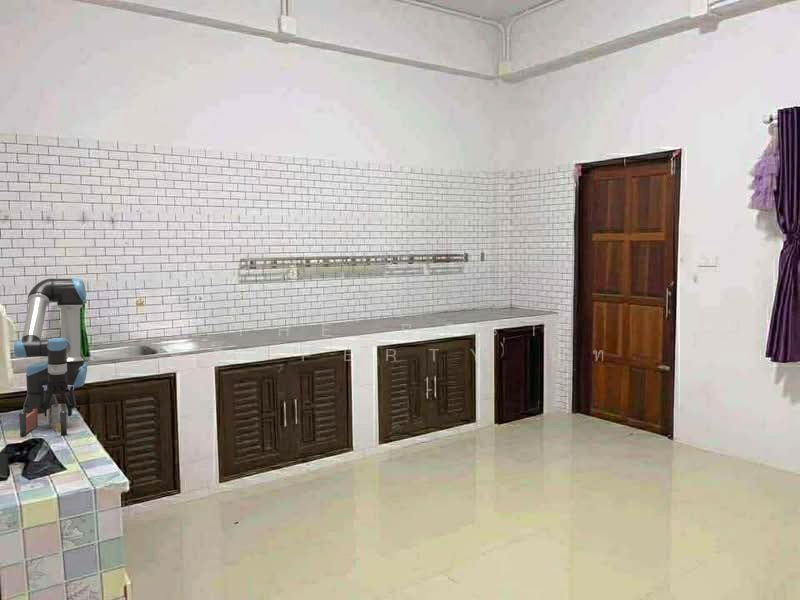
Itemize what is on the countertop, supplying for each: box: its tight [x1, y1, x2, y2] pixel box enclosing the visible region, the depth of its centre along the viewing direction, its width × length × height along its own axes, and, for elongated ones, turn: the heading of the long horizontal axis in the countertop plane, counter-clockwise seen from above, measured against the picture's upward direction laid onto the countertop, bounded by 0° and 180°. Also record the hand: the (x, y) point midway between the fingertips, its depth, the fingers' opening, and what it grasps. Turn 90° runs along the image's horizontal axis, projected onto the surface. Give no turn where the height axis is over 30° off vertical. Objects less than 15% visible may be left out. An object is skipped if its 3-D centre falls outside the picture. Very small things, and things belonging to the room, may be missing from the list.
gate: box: [26, 409, 39, 434], centre depth 288 cm, size 13×2×8 cm, turn 10°
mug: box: [49, 403, 70, 430], centre depth 293 cm, size 8×12×12 cm, turn 30°
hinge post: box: [18, 411, 28, 438], centre depth 280 cm, size 3×3×11 cm
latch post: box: [55, 411, 68, 437], centre depth 283 cm, size 4×4×11 cm
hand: (58, 423), depth 293 cm, fingers closed on mug, 7 cm apart
